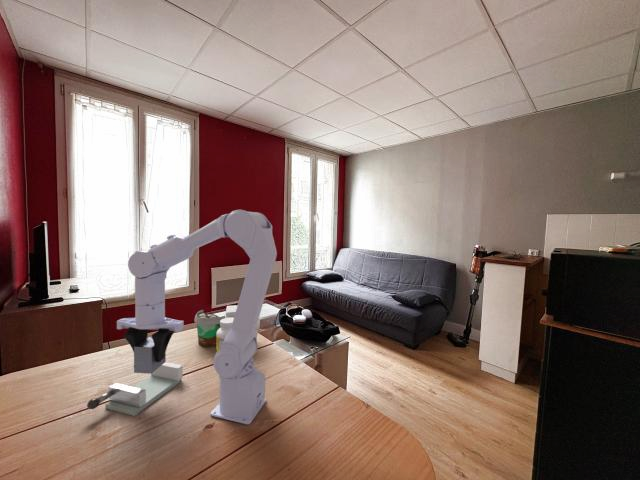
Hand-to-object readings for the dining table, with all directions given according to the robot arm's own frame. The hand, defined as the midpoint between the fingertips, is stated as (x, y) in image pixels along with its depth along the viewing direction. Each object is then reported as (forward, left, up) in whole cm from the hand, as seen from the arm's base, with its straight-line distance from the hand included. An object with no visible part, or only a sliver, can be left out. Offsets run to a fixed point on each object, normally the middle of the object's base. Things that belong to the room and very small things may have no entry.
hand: (150, 359), depth 60 cm
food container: (+6, -27, -9) cm, 29 cm away
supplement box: (-4, -30, -9) cm, 31 cm away
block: (0, 0, -2) cm, 2 cm away
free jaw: (+2, +6, -8) cm, 10 cm away
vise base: (+2, -1, -9) cm, 9 cm away
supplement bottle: (-8, -19, -9) cm, 22 cm away
